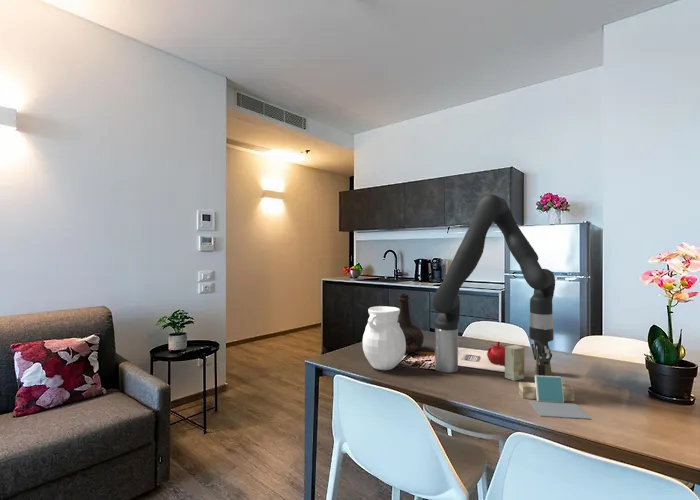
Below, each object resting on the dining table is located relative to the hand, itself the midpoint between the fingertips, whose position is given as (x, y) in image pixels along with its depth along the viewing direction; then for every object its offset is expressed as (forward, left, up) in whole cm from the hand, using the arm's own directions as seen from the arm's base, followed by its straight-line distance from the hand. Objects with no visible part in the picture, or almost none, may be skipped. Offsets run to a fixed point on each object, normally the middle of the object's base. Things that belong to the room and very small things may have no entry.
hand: (541, 374), depth 125 cm
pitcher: (-56, +20, -6) cm, 60 cm away
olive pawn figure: (+8, +20, -6) cm, 22 cm away
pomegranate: (-6, +32, -6) cm, 33 cm away
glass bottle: (-47, +45, -6) cm, 65 cm away
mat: (0, -14, -6) cm, 15 cm away
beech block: (0, -4, -6) cm, 7 cm away
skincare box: (-5, +13, -6) cm, 15 cm away
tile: (0, -7, -6) cm, 9 cm away
